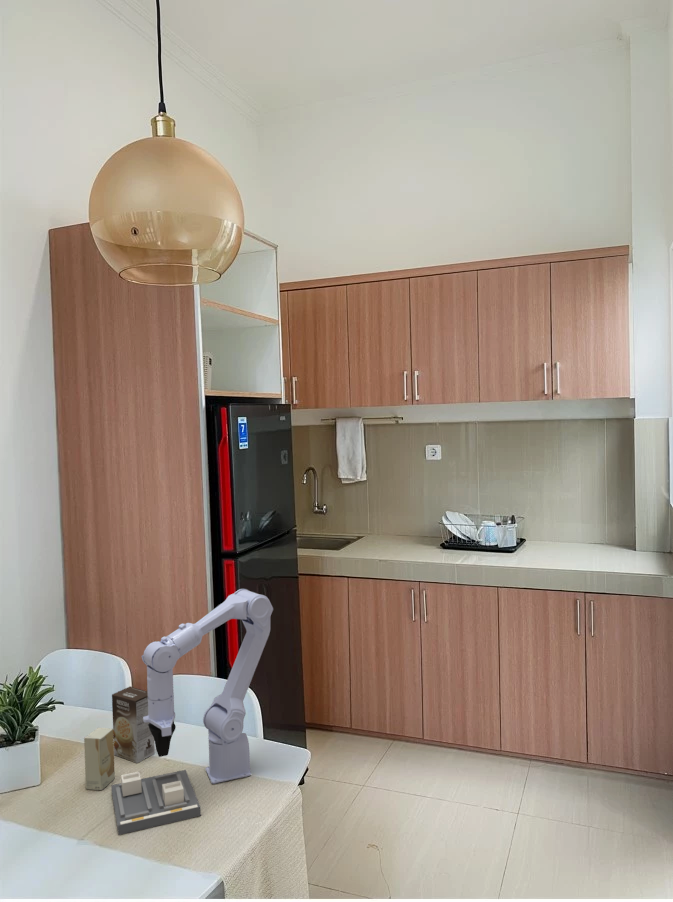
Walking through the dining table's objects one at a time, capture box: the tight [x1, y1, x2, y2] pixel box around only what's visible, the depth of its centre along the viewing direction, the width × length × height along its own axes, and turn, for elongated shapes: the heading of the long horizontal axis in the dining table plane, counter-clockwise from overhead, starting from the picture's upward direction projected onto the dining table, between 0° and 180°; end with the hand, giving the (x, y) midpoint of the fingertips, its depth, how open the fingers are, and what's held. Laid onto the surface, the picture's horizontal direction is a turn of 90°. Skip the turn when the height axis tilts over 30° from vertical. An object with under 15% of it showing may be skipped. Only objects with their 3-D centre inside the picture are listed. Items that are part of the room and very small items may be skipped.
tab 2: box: [162, 781, 184, 807], centre depth 155 cm, size 4×4×4 cm
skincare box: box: [83, 727, 116, 791], centre depth 167 cm, size 6×4×12 cm
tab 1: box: [120, 771, 142, 796], centre depth 159 cm, size 4×4×4 cm
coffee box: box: [111, 686, 156, 764], centre depth 182 cm, size 9×6×16 cm
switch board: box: [110, 769, 202, 836], centre depth 157 cm, size 17×18×3 cm
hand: (162, 754), depth 161 cm, fingers closed
